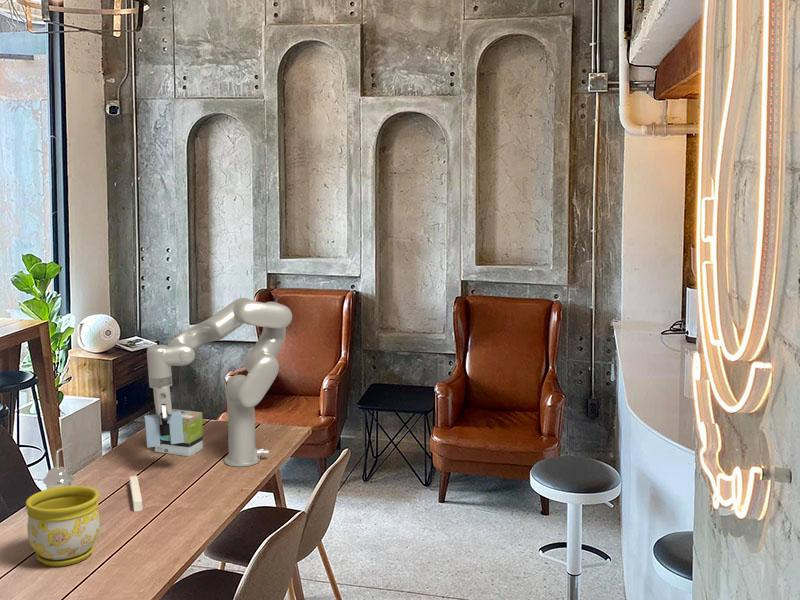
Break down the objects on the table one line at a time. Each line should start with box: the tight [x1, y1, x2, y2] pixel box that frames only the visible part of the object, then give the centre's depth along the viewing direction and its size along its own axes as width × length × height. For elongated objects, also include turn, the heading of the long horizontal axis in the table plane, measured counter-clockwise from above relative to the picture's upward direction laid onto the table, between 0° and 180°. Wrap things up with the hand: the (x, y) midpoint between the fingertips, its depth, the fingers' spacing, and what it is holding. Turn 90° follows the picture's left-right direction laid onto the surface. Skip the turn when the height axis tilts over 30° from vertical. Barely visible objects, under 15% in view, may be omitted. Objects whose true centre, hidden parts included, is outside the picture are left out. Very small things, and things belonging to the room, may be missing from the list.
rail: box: [129, 475, 143, 512], centre depth 261 cm, size 2×24×3 cm, turn 21°
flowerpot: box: [25, 485, 101, 567], centre depth 218 cm, size 18×18×16 cm
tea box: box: [154, 408, 204, 458], centre depth 308 cm, size 15×10×15 cm, turn 73°
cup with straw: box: [43, 442, 74, 490], centre depth 249 cm, size 8×9×20 cm
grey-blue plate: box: [143, 411, 184, 448], centre depth 282 cm, size 12×4×10 cm, turn 111°
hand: (164, 432), depth 282 cm, fingers closed on grey-blue plate, 4 cm apart
